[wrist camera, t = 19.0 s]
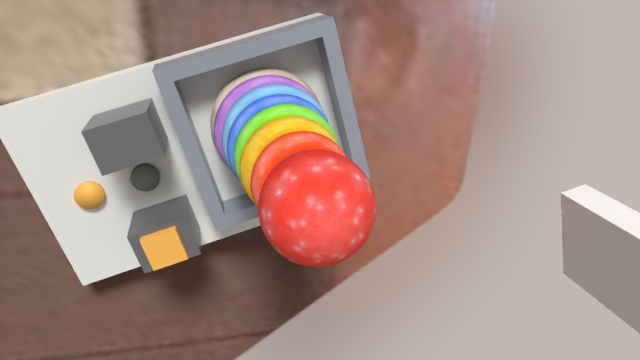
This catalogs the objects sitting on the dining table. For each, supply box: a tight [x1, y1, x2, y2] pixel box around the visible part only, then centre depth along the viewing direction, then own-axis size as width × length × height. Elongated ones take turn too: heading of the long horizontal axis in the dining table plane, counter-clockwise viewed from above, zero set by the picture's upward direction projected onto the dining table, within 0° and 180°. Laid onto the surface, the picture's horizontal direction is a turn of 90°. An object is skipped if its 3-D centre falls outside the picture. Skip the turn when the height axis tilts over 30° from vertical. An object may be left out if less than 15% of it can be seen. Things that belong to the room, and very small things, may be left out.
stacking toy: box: [210, 68, 376, 267], centre depth 28 cm, size 8×8×19 cm
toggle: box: [81, 98, 168, 176], centre depth 33 cm, size 4×3×4 cm
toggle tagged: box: [127, 195, 201, 274], centre depth 35 cm, size 4×3×5 cm
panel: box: [0, 13, 344, 286], centre depth 37 cm, size 23×14×2 cm, turn 105°
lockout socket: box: [152, 14, 371, 231], centre depth 35 cm, size 12×12×2 cm
